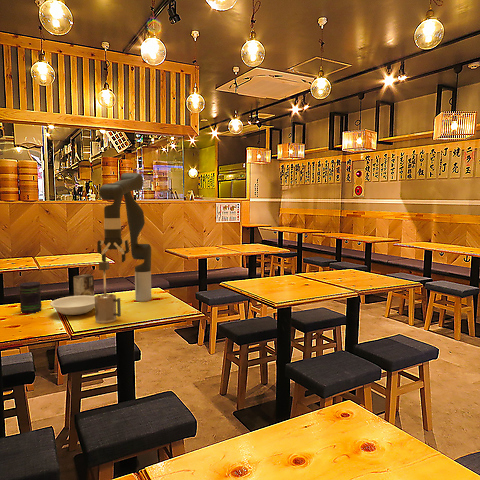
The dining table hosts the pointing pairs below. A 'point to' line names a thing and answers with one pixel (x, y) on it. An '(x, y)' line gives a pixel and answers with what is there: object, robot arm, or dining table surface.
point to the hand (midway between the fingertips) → (113, 262)
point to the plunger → (104, 267)
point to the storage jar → (30, 297)
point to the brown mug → (107, 308)
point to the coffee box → (83, 285)
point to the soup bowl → (74, 304)
